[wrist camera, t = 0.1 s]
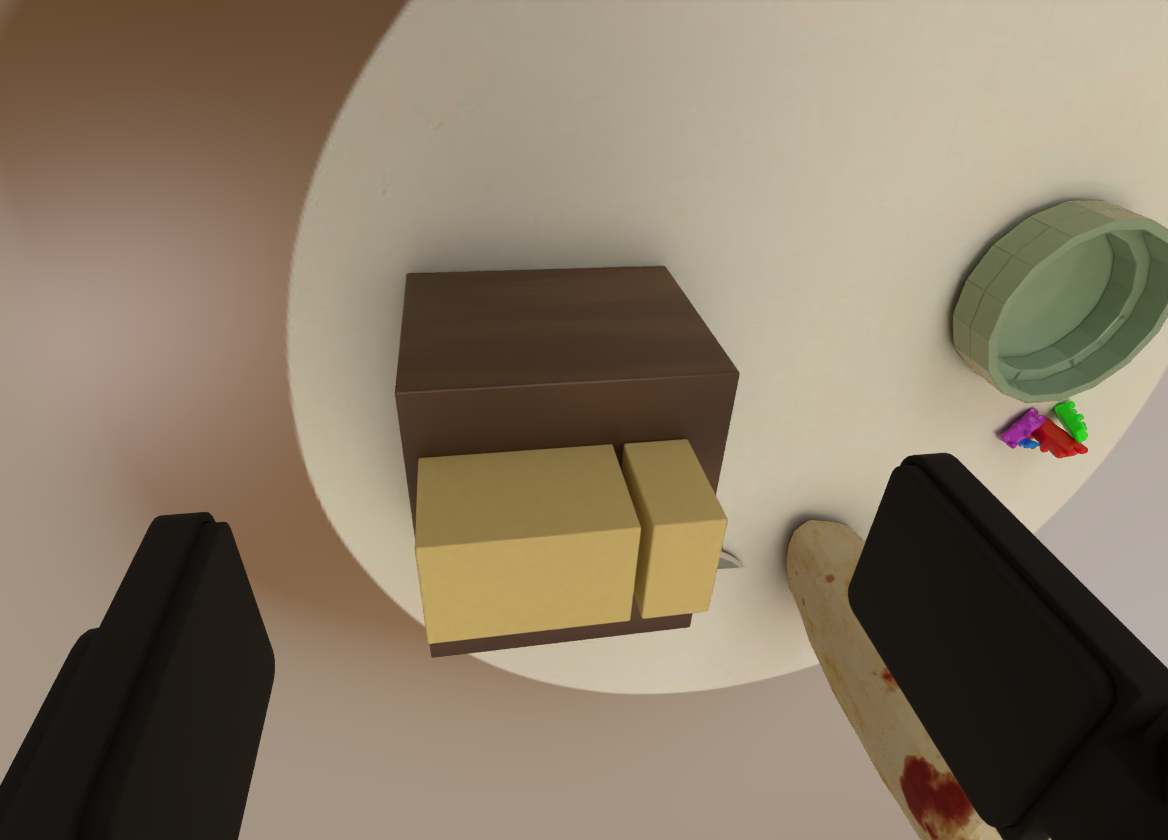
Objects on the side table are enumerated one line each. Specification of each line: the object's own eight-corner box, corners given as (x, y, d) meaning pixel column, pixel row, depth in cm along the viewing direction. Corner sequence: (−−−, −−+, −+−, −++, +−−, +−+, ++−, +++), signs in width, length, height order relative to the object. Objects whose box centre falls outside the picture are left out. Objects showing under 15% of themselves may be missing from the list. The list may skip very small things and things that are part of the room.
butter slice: (623, 442, 25) (654, 526, 22) (688, 438, 26) (729, 519, 22) (615, 531, 28) (641, 620, 24) (674, 525, 28) (709, 612, 25)
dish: (988, 198, 33) (1039, 221, 30) (1161, 195, 35) (1225, 218, 32) (922, 374, 39) (960, 408, 36) (1074, 365, 41) (1121, 396, 38)
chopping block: (406, 273, 30) (394, 391, 22) (665, 265, 32) (740, 372, 24) (433, 507, 38) (431, 658, 30) (640, 490, 40) (690, 627, 32)
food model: (751, 530, 44) (933, 870, 28) (849, 486, 43) (1093, 810, 27) (788, 612, 50) (957, 934, 34) (874, 574, 49) (1089, 885, 33)
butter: (418, 457, 24) (414, 548, 20) (612, 443, 25) (641, 528, 22) (429, 548, 27) (427, 644, 23) (605, 532, 28) (630, 621, 24)
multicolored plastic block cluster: (989, 445, 43) (1028, 481, 40) (1000, 411, 42) (1041, 445, 39) (1062, 431, 44) (1105, 465, 41) (1075, 397, 42) (1122, 429, 39)
